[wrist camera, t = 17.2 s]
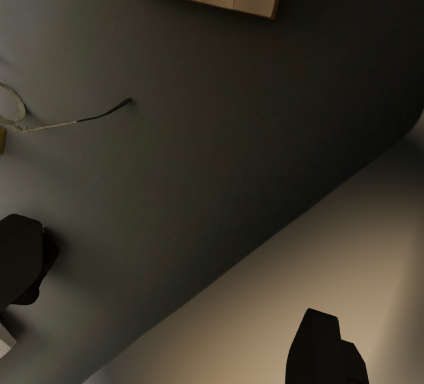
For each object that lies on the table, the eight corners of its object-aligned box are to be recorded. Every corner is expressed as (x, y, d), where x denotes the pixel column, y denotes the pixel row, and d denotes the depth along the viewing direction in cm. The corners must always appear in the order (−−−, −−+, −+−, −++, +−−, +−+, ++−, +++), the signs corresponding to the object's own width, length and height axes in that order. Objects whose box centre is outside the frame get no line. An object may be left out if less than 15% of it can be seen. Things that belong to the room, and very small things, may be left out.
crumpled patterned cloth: (12, 182, 49) (-44, 240, 52) (-25, 254, 37) (-95, 325, 40) (75, 220, 54) (21, 271, 57) (61, 294, 42) (-6, 354, 45)
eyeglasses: (-36, -3, 40) (-78, -8, 35) (70, -62, 35) (36, -77, 30) (35, 138, 45) (6, 149, 41) (135, 104, 40) (114, 113, 36)
